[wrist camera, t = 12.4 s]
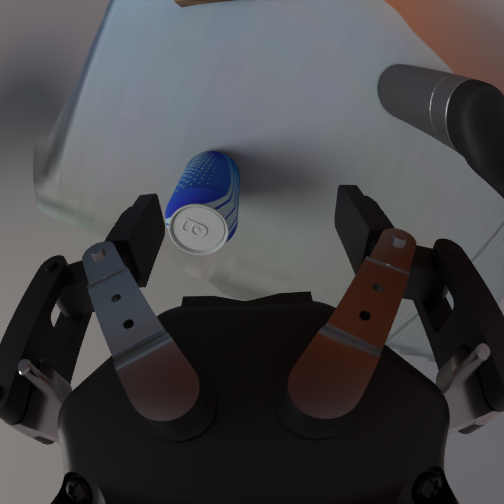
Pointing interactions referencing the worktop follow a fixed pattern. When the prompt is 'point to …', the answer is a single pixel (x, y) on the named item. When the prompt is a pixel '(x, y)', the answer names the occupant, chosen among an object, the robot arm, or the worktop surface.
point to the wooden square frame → (195, 2)
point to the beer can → (205, 204)
